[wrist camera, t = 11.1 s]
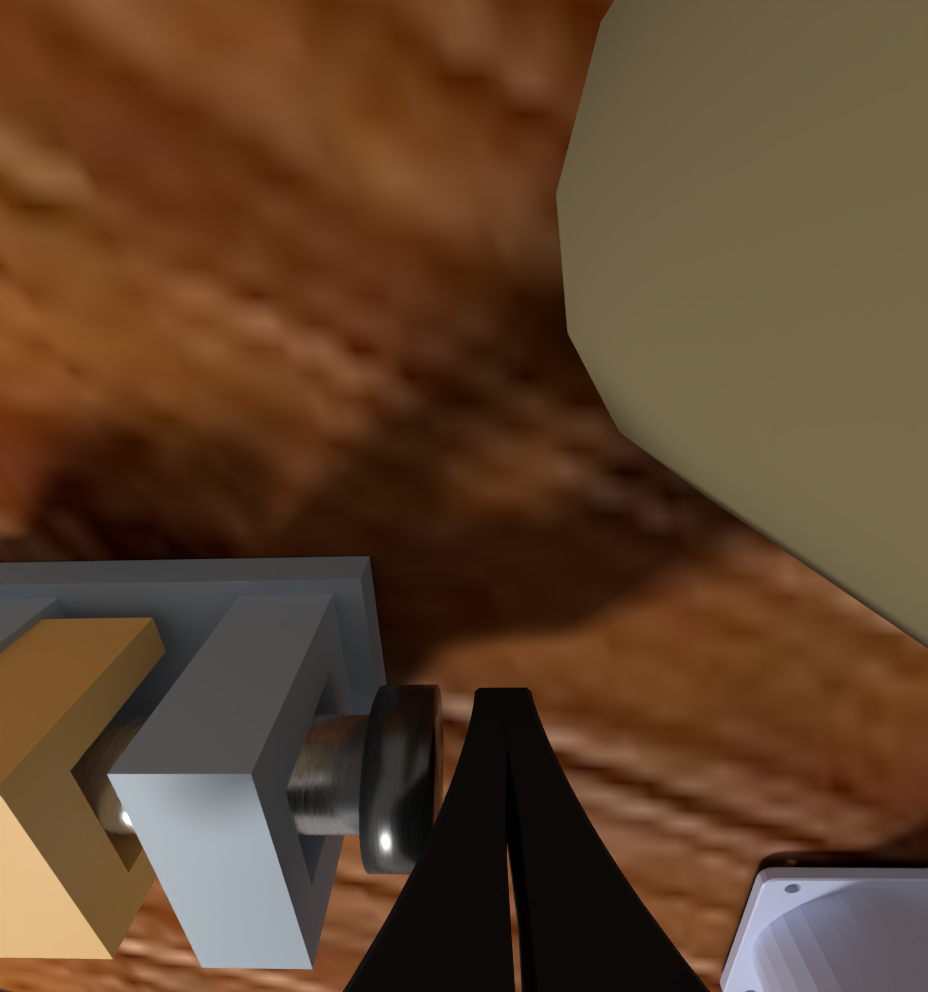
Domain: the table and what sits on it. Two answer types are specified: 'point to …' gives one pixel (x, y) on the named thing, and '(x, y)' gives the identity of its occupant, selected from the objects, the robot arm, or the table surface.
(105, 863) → the block
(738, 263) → the squeeze bottle
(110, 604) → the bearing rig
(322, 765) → the shaft
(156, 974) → the table surface
